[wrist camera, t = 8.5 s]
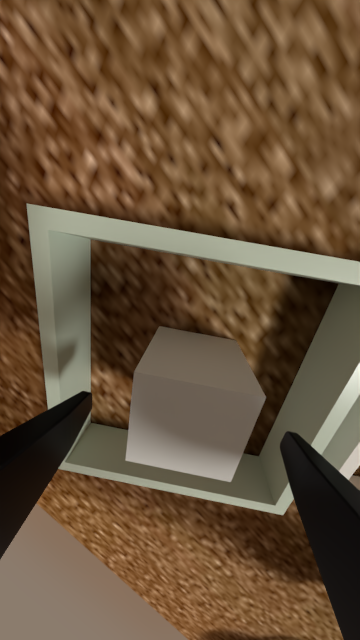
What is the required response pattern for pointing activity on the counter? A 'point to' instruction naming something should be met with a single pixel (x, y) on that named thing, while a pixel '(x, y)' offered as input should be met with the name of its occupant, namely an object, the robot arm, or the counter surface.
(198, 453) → the stone cube
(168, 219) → the counter surface
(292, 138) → the counter surface
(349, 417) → the bin
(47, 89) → the counter surface
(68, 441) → the robot arm
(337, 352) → the bin
